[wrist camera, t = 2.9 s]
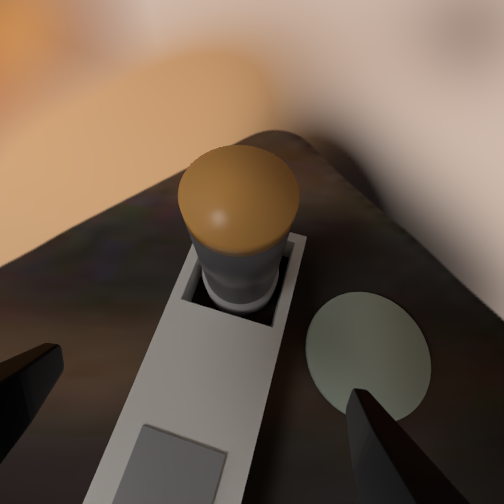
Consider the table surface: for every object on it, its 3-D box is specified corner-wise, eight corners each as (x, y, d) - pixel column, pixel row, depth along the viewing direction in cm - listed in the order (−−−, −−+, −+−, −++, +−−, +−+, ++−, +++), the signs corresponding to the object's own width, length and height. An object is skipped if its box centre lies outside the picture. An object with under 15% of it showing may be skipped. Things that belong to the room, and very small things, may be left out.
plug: (281, 261, 24) (317, 158, 13) (264, 325, 22) (287, 270, 11) (219, 243, 25) (200, 128, 13) (196, 304, 23) (149, 230, 11)
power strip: (299, 252, 25) (307, 235, 22) (209, 611, 16) (201, 664, 13) (211, 227, 25) (207, 207, 22) (77, 557, 17) (41, 597, 14)
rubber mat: (428, 312, 23) (433, 311, 22) (422, 440, 19) (428, 442, 19) (318, 280, 24) (319, 278, 23) (292, 398, 20) (294, 398, 20)
